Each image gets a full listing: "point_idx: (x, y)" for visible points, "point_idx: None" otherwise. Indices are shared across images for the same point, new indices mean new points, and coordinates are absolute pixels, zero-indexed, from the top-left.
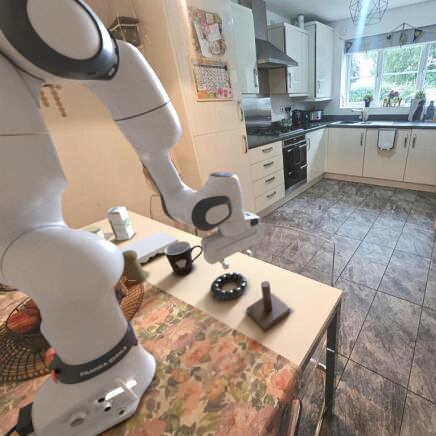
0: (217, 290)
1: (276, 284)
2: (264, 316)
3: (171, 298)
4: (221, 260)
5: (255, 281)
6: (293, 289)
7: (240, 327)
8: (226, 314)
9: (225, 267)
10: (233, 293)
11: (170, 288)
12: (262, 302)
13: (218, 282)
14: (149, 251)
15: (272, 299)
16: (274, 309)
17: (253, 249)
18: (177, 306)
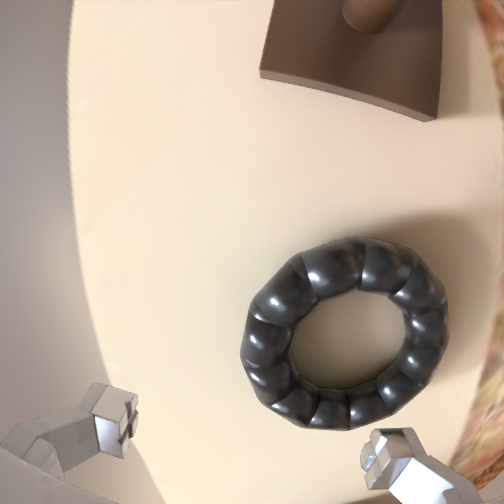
0: (433, 352)
1: (159, 120)
2: (412, 8)
3: (466, 442)
4: (471, 500)
5: (214, 253)
6: (144, 23)
7: (486, 98)
8: (478, 207)
9: (414, 440)
10: (414, 261)
11: None
12: (356, 60)
13: (373, 400)
14: None
15: (299, 27)
16: None
17: (62, 415)
18: (492, 400)
